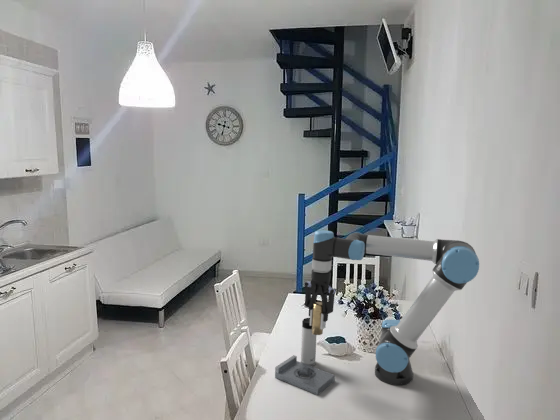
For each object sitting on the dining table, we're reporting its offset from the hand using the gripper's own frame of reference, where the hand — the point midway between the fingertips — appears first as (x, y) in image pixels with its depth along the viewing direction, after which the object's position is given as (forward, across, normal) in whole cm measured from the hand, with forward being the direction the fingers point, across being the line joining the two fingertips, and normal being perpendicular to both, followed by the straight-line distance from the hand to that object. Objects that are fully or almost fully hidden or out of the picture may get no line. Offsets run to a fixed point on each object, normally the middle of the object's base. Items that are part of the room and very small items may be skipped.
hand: (317, 326), depth 171 cm
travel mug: (+22, +8, -8) cm, 24 cm away
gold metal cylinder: (+3, 0, 0) cm, 3 cm away
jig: (+22, +2, +4) cm, 22 cm away
